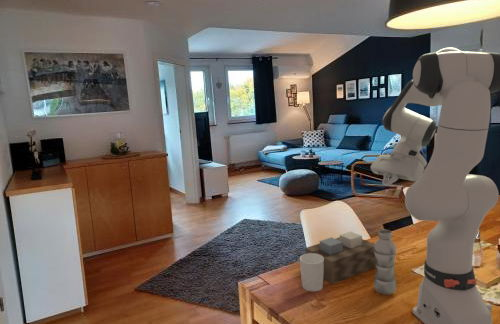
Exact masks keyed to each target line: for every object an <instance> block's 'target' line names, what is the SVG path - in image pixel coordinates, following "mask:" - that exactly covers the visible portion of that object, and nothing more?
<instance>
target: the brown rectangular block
mask: <svg viewBox="0 0 500 324" xmlns="http://www.w3.org/2000/svg"><path fill="white" fill-rule="evenodd" d="M335 239H337V240H339V241H340V236H339V237H335ZM374 244H375V243H374V242H371V241H368V240H366V239H363V238H362V245H360V246H357V247H354V248H351V249H350V248H348V247H346V246H344V245H343V252H340V253H337V254H334V255H329V254H327V253H325V252H323V251H321V250H320V243H317V244H313V245H310V246H307V247H305V254H308V253H315V254H319V255H321V256H323V257H324V274H323V280H325V281H326V282H328V283H329V284H332V285H334V284H337V283H339V282H342V281H345V280H348V279H349V278H352V277H354V276H357V275H360V274H362V273H365V272H367V271H369V270H373V269H376V262H375V254H374Z"/></svg>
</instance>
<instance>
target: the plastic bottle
mask: <svg viewBox="0 0 500 324" xmlns="http://www.w3.org/2000/svg"><path fill="white" fill-rule="evenodd" d="M377 235H378V239H377V240H376V241H375V243H373V244H374V254H375V262H376V267H375V273H374V278H373V288H374V290H375V291H376V292H377V293H379V294H381V295H383V296H384V295H385V296H386V295H387V296H388V295H389V296H390V295H393V294H394V293H395V292H396V290H397V281H396V274H395V263H396V262H395V261H396V255H397V246H396V245H395V242H394V241H393V240H392V238H393V236H392V235H393V234H392V230H389V229H379V230H378V234H377Z"/></svg>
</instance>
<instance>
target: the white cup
mask: <svg viewBox="0 0 500 324" xmlns="http://www.w3.org/2000/svg"><path fill="white" fill-rule="evenodd" d="M299 268H300V278H301V285H302V289H304V290H305V291H308V292H318V291H321V290H322V289H323V287H324V279H323V274H324V257H323V256H321V255H319V254H315V253H308V254H306V253H304V254H302V255H300V256H299Z"/></svg>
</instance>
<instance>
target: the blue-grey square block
mask: <svg viewBox="0 0 500 324" xmlns="http://www.w3.org/2000/svg"><path fill="white" fill-rule="evenodd" d="M319 244H320V250H321V251H323V252H325V253H327V254H329V255H334V254H337V253H340V252H343V242H341V241H339V240H337V239H336V238H334V237H328V238H326V239H325V238H324V239H321V240H319Z"/></svg>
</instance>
